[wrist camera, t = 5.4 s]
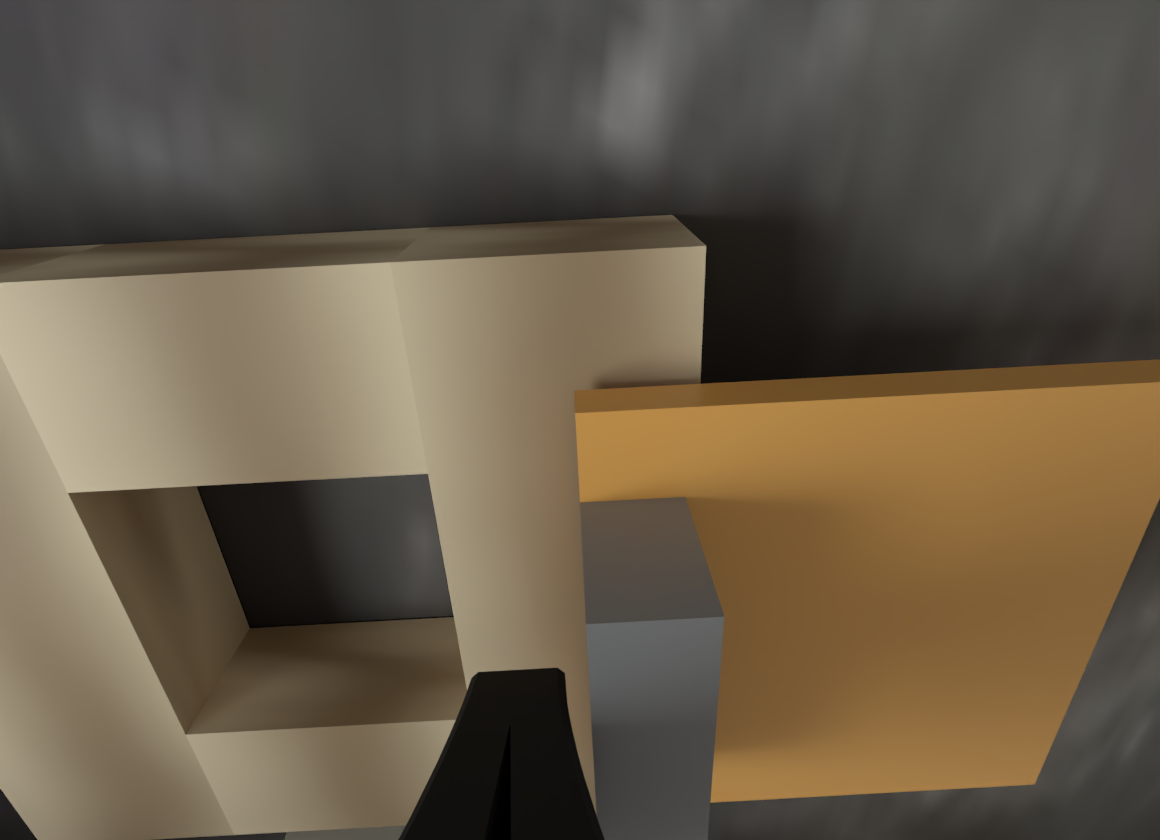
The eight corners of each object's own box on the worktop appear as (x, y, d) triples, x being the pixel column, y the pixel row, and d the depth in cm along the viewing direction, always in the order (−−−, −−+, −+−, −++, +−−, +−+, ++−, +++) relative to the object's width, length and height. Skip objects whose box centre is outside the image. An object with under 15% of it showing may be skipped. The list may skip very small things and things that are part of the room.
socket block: (122, 731, 17) (41, 845, 15) (-139, 256, 11) (-355, 300, 9) (663, 701, 17) (681, 810, 15) (672, 214, 12) (706, 245, 9)
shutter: (594, 771, 13) (604, 957, 10) (574, 390, 9) (580, 517, 7) (1009, 748, 14) (1135, 927, 11) (1162, 359, 10) (1435, 470, 7)
